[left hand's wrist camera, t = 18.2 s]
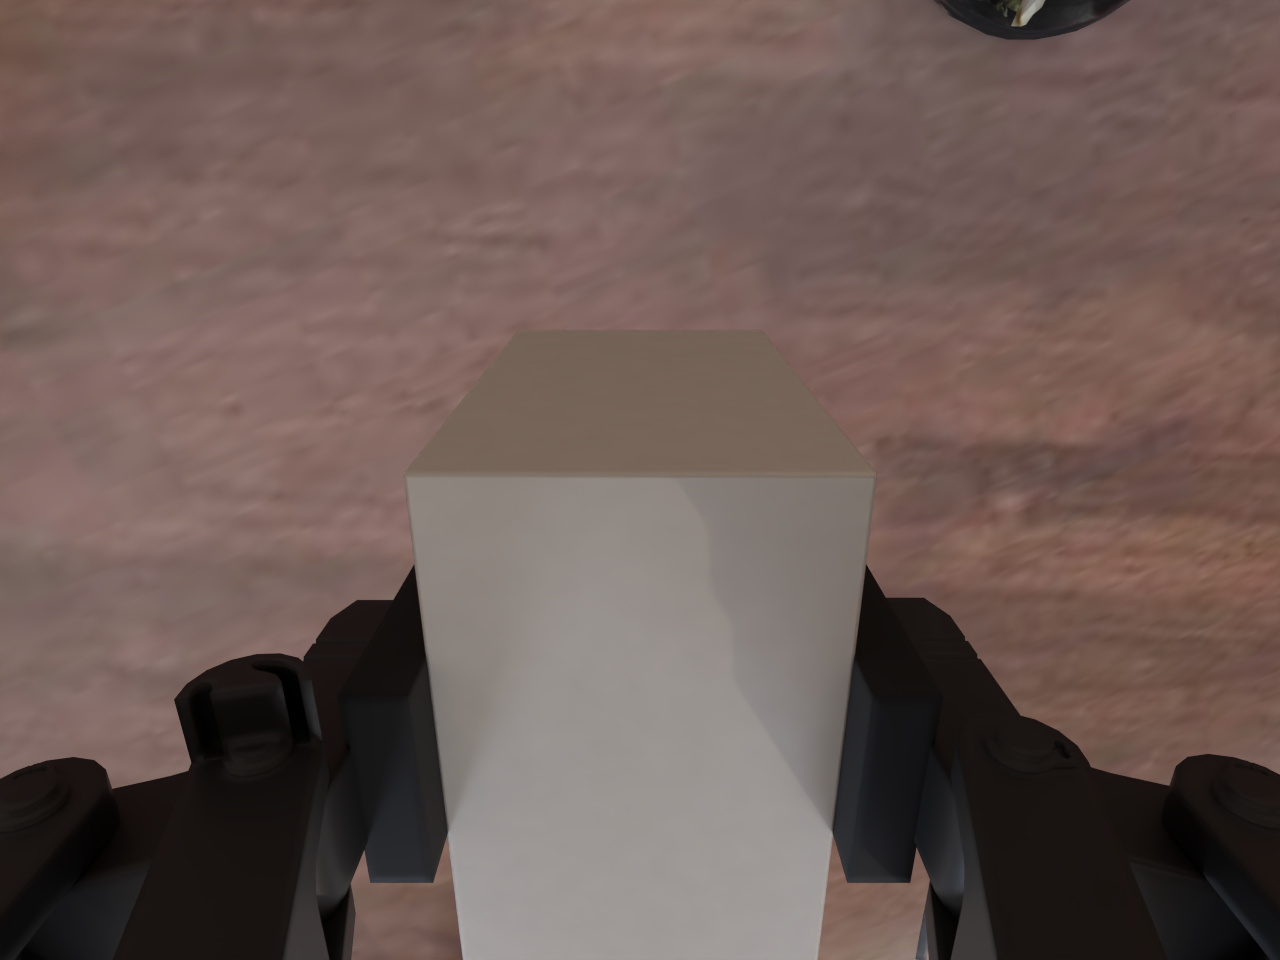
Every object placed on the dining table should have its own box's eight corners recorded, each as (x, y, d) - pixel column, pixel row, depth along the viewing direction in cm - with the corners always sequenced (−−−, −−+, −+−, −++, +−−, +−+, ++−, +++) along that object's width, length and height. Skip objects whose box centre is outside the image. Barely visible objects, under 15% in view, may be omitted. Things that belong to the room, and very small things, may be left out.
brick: (535, 644, 18) (462, 970, 11) (517, 329, 15) (401, 473, 8) (744, 643, 18) (818, 970, 11) (763, 329, 15) (878, 473, 8)
